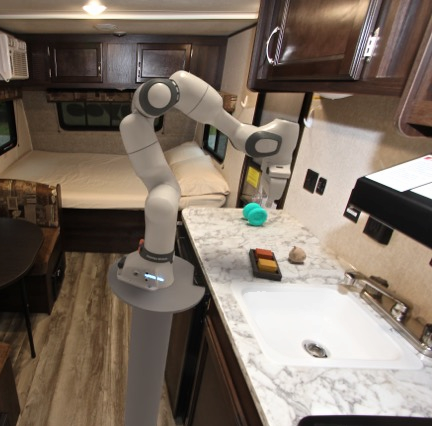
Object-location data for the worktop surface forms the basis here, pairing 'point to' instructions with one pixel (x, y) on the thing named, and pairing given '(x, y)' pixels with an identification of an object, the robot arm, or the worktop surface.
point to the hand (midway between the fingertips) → (265, 202)
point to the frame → (261, 274)
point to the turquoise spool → (255, 214)
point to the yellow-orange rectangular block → (266, 266)
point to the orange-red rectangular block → (263, 254)
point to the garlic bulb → (297, 254)
